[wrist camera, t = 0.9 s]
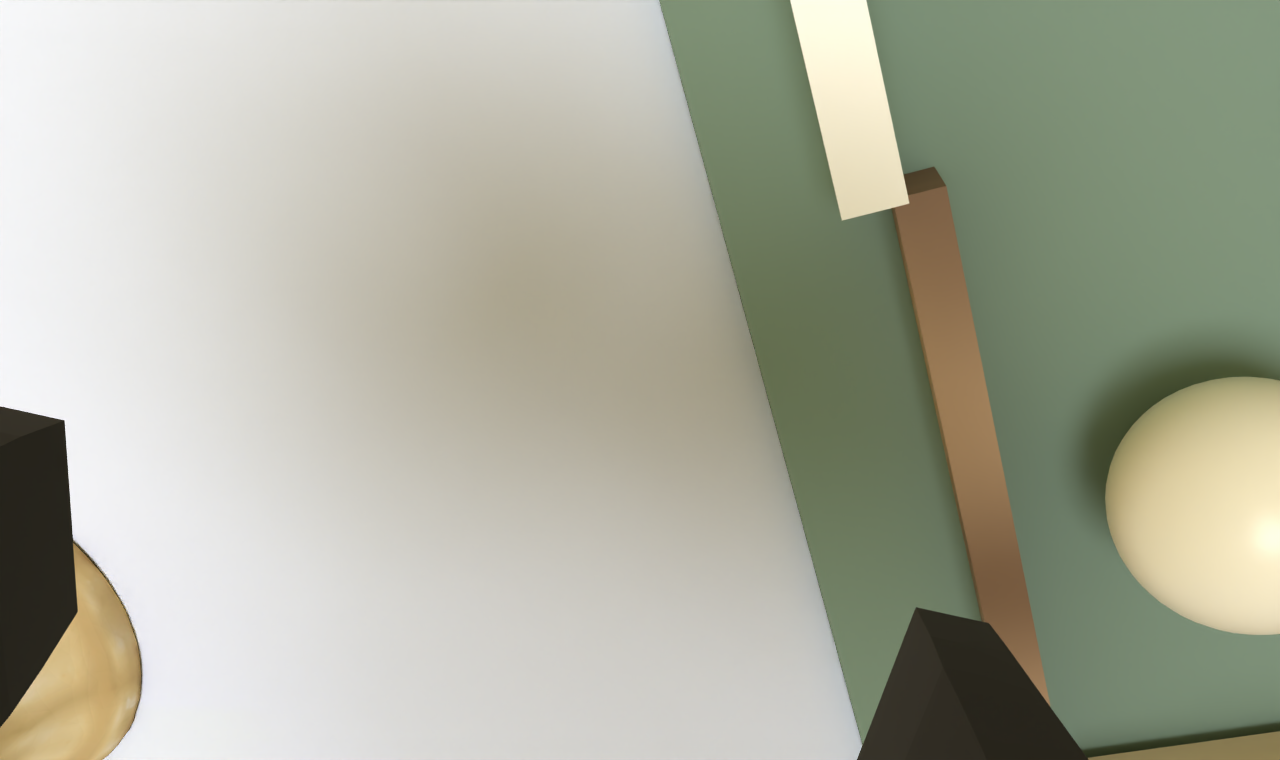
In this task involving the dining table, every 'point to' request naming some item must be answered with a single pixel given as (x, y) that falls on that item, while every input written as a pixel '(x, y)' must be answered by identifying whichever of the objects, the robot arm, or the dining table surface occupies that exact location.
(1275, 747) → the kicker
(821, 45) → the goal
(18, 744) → the hand bell
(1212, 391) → the ball
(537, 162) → the dining table surface
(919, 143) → the pitch mat
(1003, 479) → the track
